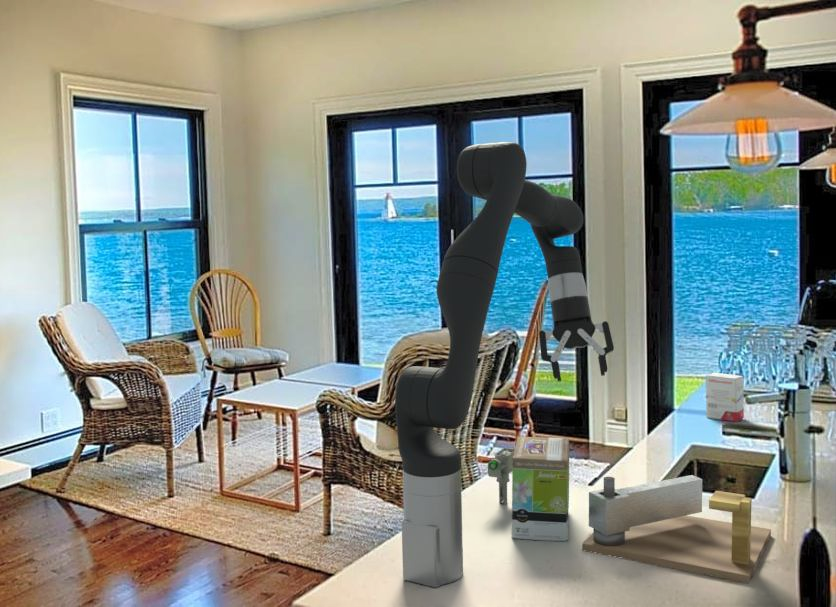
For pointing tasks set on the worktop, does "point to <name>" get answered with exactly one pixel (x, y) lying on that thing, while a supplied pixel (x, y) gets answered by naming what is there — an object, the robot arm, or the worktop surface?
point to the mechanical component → (502, 470)
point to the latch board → (691, 540)
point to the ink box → (724, 397)
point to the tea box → (540, 488)
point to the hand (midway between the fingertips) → (581, 378)
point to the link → (644, 504)
